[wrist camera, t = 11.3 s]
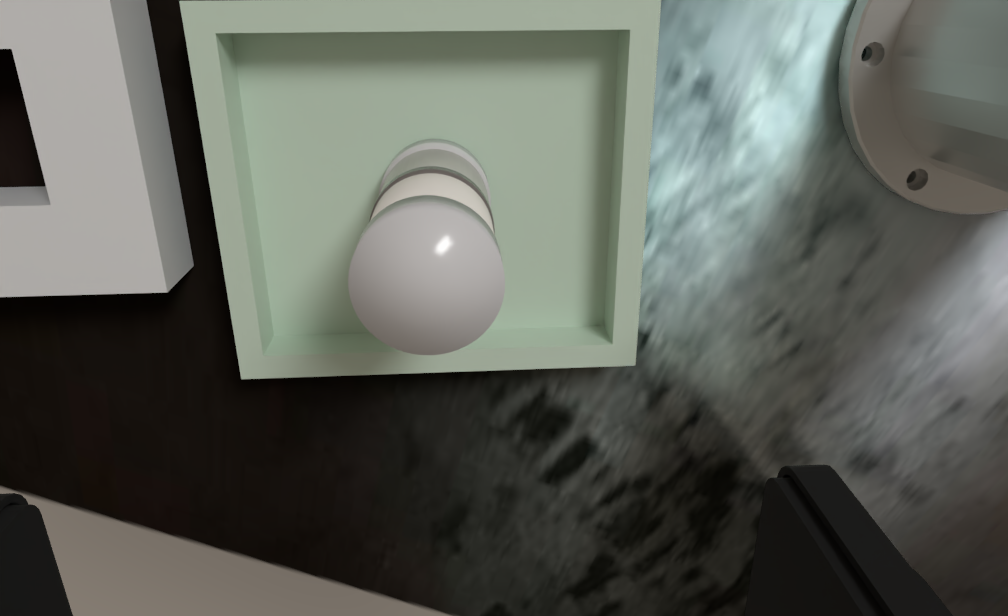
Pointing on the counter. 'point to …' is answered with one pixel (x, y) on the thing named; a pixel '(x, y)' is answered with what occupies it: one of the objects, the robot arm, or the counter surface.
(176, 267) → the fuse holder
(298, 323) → the parts tray
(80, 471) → the counter surface
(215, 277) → the counter surface
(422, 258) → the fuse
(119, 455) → the counter surface
